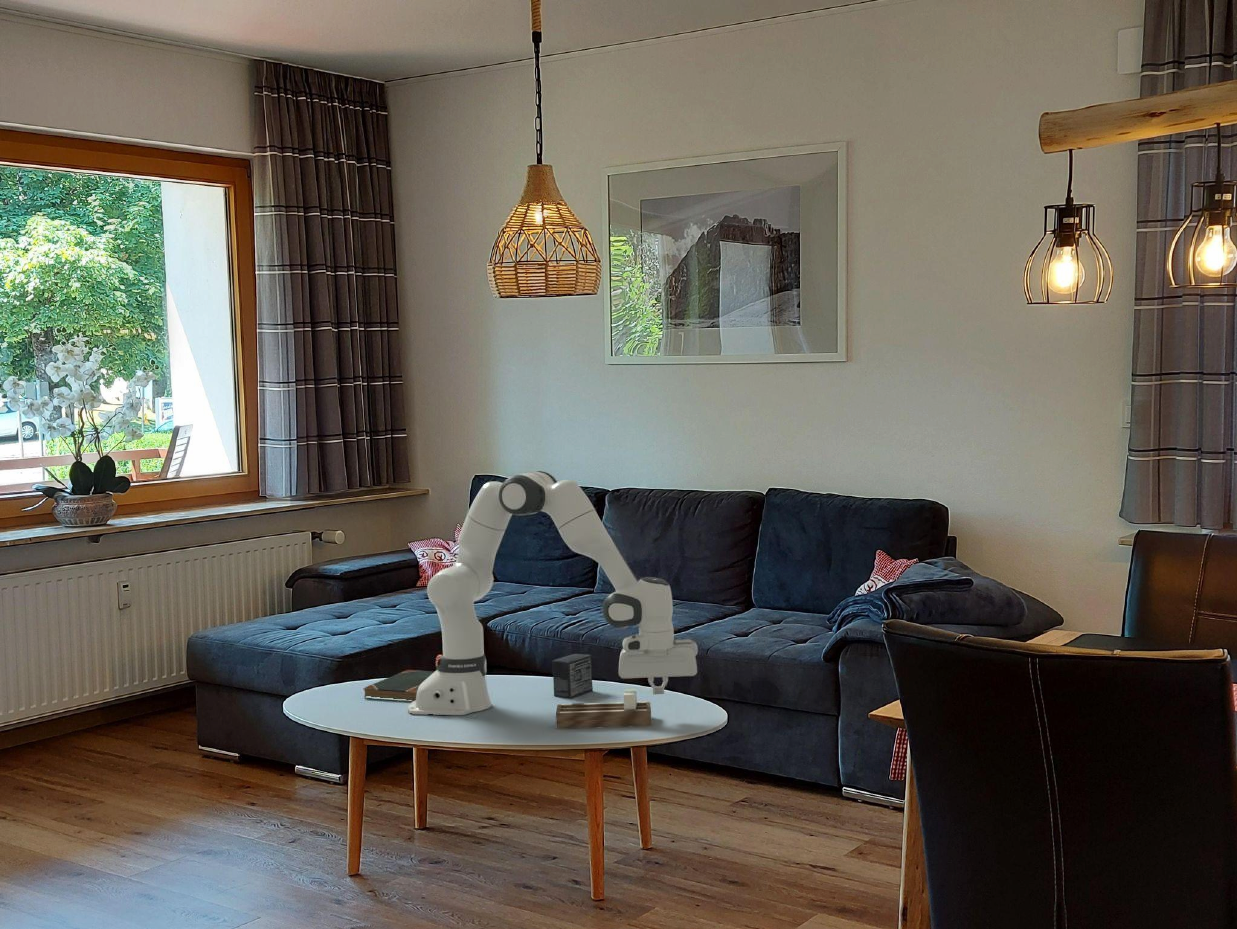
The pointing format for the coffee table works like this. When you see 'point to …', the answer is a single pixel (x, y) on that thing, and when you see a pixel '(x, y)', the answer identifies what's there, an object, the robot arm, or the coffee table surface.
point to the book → (399, 685)
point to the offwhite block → (629, 701)
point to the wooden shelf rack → (602, 715)
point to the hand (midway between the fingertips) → (658, 693)
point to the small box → (572, 676)
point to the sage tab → (631, 692)
